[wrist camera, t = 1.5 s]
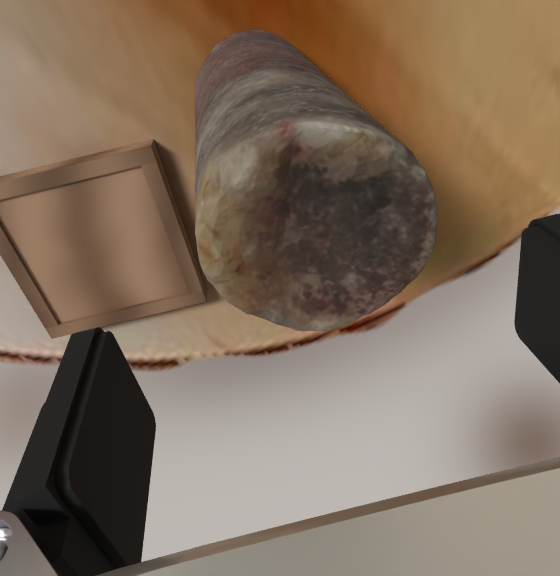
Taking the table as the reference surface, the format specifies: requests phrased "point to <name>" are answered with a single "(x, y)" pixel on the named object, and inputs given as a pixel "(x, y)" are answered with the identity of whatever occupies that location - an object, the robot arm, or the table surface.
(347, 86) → the table surface
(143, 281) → the picture frame
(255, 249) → the grey brown rough cylinder
